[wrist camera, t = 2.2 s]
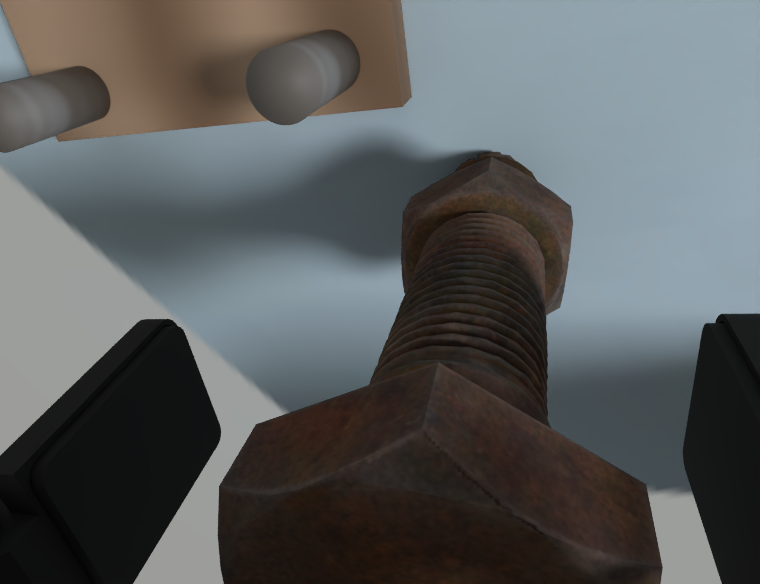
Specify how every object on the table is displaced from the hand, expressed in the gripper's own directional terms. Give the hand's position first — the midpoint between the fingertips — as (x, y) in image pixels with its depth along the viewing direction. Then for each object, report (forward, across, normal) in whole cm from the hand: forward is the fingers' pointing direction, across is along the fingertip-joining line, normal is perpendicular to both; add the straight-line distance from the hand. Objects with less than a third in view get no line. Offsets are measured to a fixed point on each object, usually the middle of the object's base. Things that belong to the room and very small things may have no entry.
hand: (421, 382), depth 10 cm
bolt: (+11, -1, 0) cm, 11 cm away
